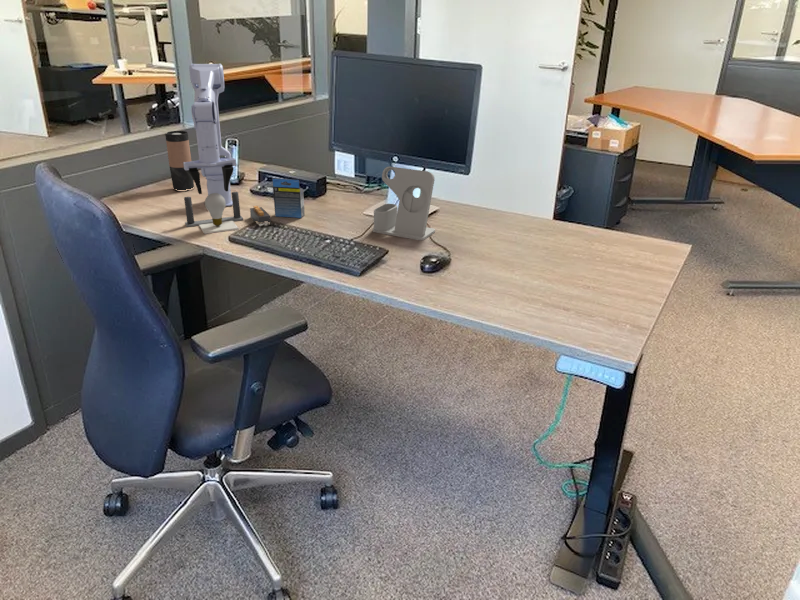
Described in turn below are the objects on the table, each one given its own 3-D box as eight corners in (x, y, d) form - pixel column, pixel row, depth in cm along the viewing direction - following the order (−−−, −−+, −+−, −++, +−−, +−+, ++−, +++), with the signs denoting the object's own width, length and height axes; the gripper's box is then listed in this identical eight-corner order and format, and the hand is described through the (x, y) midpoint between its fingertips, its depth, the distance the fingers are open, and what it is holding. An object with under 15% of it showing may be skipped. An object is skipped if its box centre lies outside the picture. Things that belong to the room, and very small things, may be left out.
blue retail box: (305, 215, 200) (303, 177, 195) (301, 218, 196) (299, 180, 191) (278, 213, 201) (276, 175, 196) (274, 216, 198) (271, 178, 193)
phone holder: (369, 231, 186) (369, 171, 179) (385, 222, 195) (386, 164, 187) (422, 241, 179) (424, 179, 172) (436, 231, 188) (439, 171, 180)
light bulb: (216, 230, 183) (212, 197, 179) (203, 226, 186) (199, 193, 182) (232, 225, 187) (228, 193, 183) (219, 221, 191) (215, 189, 186)
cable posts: (185, 224, 189) (181, 196, 186) (241, 217, 196) (238, 190, 193) (186, 227, 187) (183, 199, 183) (243, 220, 194) (240, 193, 190)
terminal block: (250, 217, 196) (249, 205, 195) (262, 216, 198) (261, 204, 196) (259, 226, 188) (258, 214, 187) (271, 225, 190) (270, 212, 188)
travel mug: (199, 189, 226) (192, 132, 217) (179, 193, 221) (171, 135, 212) (188, 185, 231) (181, 130, 222) (168, 189, 225) (160, 132, 217)
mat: (199, 226, 188) (199, 224, 188) (232, 222, 192) (232, 220, 192) (204, 233, 182) (204, 232, 182) (238, 229, 186) (238, 227, 186)
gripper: (184, 150, 173) (190, 198, 179) (236, 146, 179) (241, 192, 185) (180, 145, 178) (186, 191, 184) (230, 141, 184) (235, 186, 190)
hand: (213, 191), depth 185 cm, fingers open, 7 cm apart
